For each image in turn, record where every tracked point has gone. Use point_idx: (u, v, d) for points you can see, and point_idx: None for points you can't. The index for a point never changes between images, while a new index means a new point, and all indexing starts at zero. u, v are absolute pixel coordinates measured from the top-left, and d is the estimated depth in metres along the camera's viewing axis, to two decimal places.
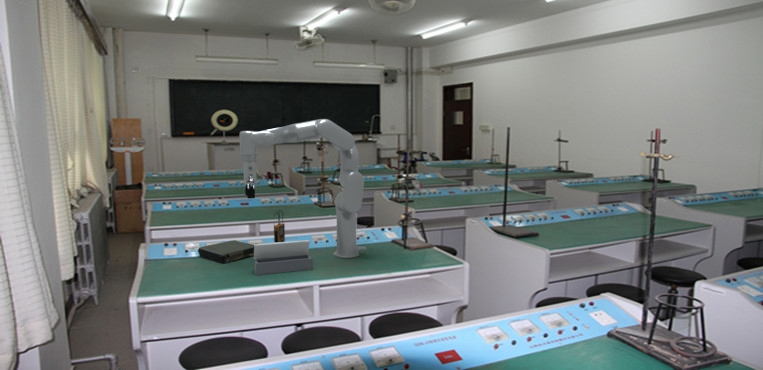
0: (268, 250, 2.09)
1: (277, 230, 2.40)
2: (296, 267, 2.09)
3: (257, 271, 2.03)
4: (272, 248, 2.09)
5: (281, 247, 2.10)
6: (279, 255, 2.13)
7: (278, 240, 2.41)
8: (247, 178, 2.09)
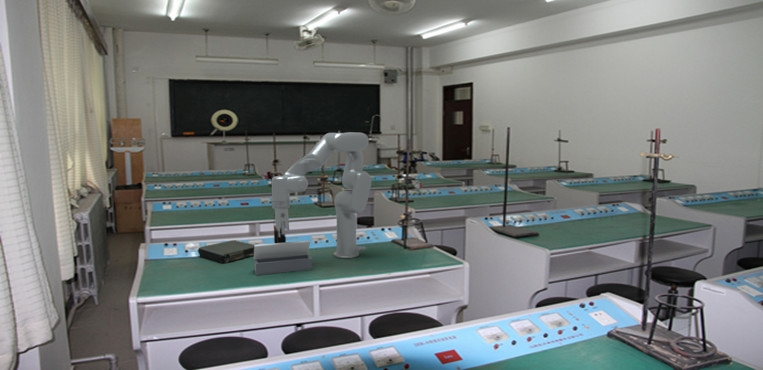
0: (268, 250, 2.09)
1: (277, 230, 2.40)
2: (296, 267, 2.09)
3: (257, 271, 2.03)
4: (272, 248, 2.09)
5: (281, 248, 2.10)
6: (279, 255, 2.13)
7: None
8: (279, 225, 2.05)
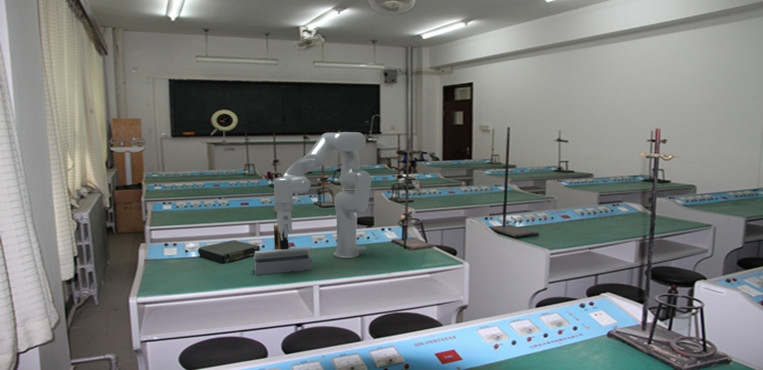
0: (269, 254, 2.08)
1: (277, 230, 2.40)
2: (296, 267, 2.09)
3: (257, 271, 2.03)
4: (273, 253, 2.07)
5: (282, 252, 2.09)
6: (279, 256, 2.13)
7: (278, 240, 2.41)
8: (282, 228, 1.99)
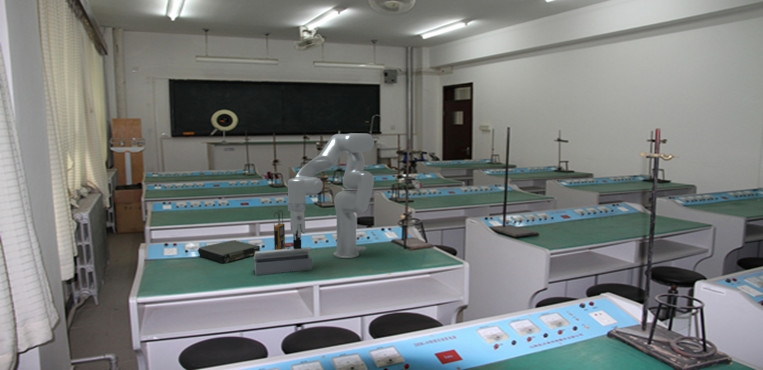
0: (269, 254, 2.08)
1: (277, 230, 2.40)
2: (296, 267, 2.09)
3: (257, 271, 2.03)
4: (273, 253, 2.07)
5: (282, 252, 2.09)
6: (279, 256, 2.13)
7: (278, 240, 2.41)
8: (296, 228, 2.02)
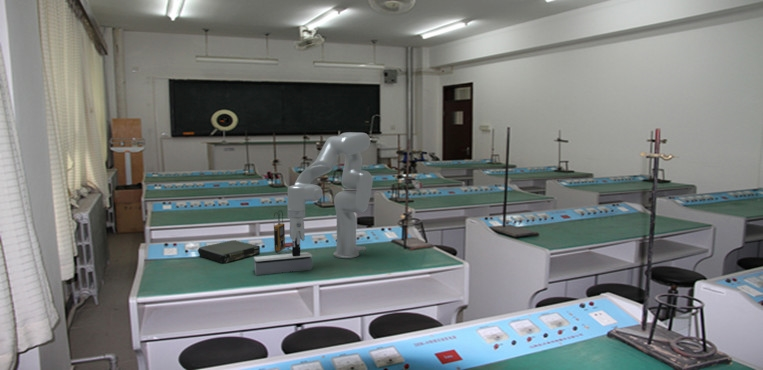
0: None
1: (277, 230, 2.40)
2: (296, 267, 2.09)
3: (257, 271, 2.03)
4: None
5: None
6: (279, 256, 2.12)
7: (278, 240, 2.41)
8: (295, 235, 2.02)
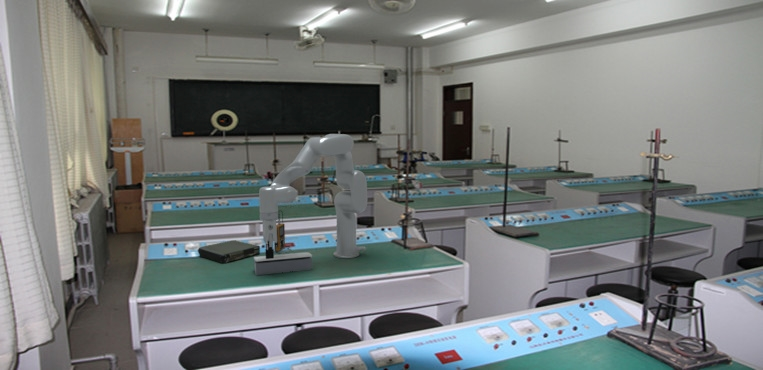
0: None
1: (277, 230, 2.40)
2: (296, 267, 2.09)
3: (257, 271, 2.03)
4: None
5: None
6: (279, 256, 2.12)
7: (278, 240, 2.41)
8: (267, 237, 1.98)
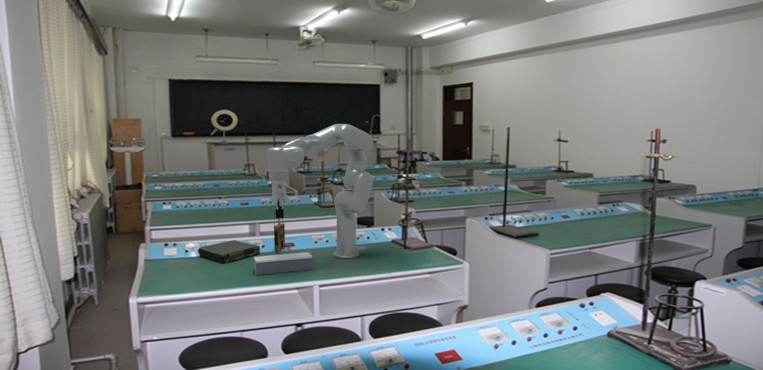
0: None
1: (277, 230, 2.40)
2: (296, 267, 2.09)
3: (257, 271, 2.03)
4: None
5: None
6: None
7: (278, 240, 2.41)
8: (277, 197, 2.02)
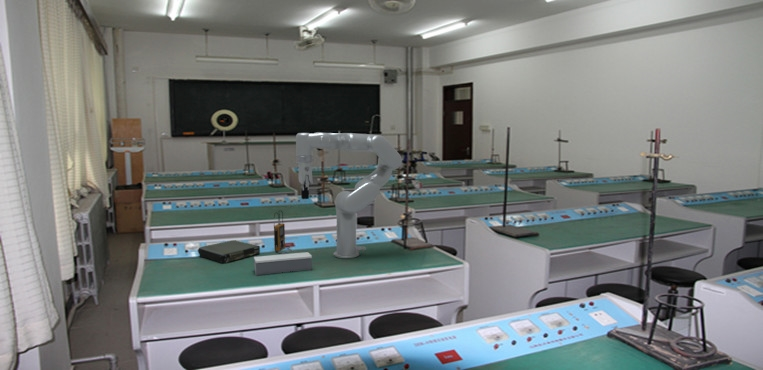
0: None
1: (277, 230, 2.40)
2: (296, 267, 2.09)
3: (257, 271, 2.03)
4: None
5: None
6: None
7: (278, 240, 2.41)
8: (304, 178, 2.18)
